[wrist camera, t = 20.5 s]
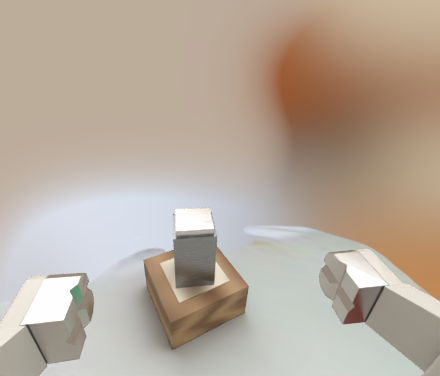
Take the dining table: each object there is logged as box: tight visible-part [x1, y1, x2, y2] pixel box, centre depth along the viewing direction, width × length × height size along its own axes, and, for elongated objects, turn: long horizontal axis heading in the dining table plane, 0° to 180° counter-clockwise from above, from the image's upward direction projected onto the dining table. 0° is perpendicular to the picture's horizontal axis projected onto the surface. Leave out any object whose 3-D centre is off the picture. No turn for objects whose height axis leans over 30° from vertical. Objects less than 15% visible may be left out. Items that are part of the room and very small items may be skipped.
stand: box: [144, 246, 249, 350], centre depth 41 cm, size 12×12×6 cm
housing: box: [173, 208, 217, 288], centre depth 37 cm, size 6×6×10 cm
